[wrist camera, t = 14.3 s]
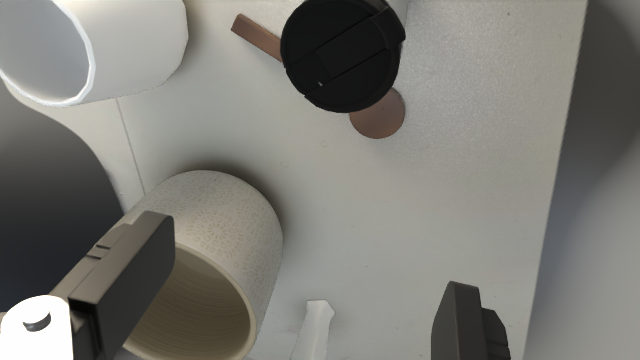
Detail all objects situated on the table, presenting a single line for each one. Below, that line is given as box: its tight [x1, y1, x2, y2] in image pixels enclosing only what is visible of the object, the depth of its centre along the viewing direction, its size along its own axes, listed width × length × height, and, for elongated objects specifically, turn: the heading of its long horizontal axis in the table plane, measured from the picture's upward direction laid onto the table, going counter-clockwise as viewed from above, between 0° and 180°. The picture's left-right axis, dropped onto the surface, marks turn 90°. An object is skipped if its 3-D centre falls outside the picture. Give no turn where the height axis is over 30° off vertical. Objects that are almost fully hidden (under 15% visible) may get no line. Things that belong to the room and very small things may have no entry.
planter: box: [85, 170, 283, 360], centre depth 49 cm, size 17×17×15 cm
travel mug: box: [280, 0, 409, 113], centre depth 31 cm, size 6×7×20 cm
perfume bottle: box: [290, 300, 335, 360], centre depth 54 cm, size 5×4×15 cm
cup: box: [0, 0, 189, 108], centre depth 39 cm, size 13×13×14 cm
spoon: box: [231, 14, 405, 139], centre depth 44 cm, size 18×5×1 cm, turn 60°
